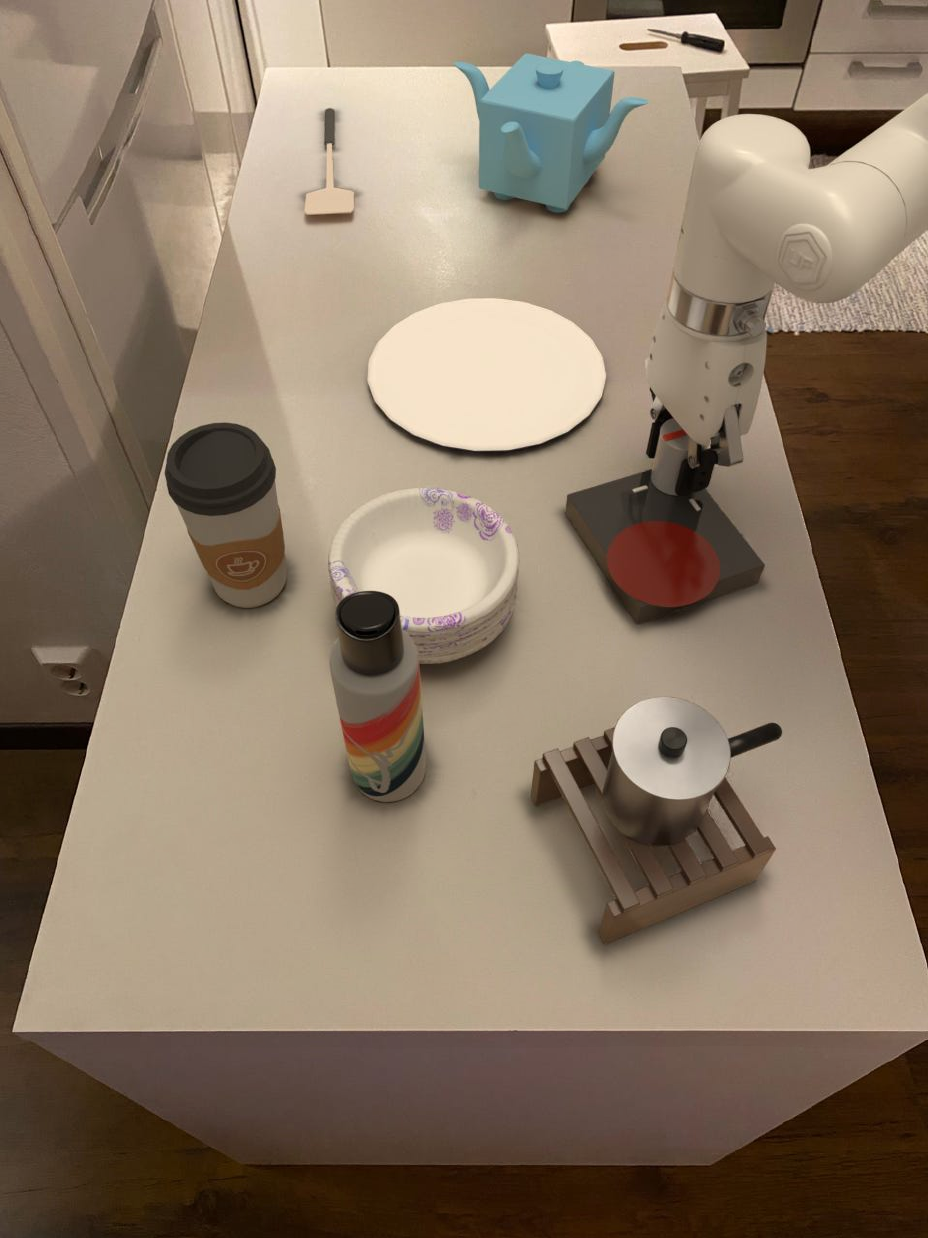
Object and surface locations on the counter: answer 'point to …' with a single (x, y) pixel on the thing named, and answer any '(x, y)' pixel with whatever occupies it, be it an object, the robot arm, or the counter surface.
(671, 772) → the saucepan
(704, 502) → the hob
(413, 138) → the counter surface
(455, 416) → the plate
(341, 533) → the paper bowls
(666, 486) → the hob knob
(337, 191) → the spatula
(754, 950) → the counter surface
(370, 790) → the lotion bottle
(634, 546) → the burner ring
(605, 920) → the drying rack
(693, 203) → the robot arm
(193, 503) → the coffee cup
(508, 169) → the teakettle
